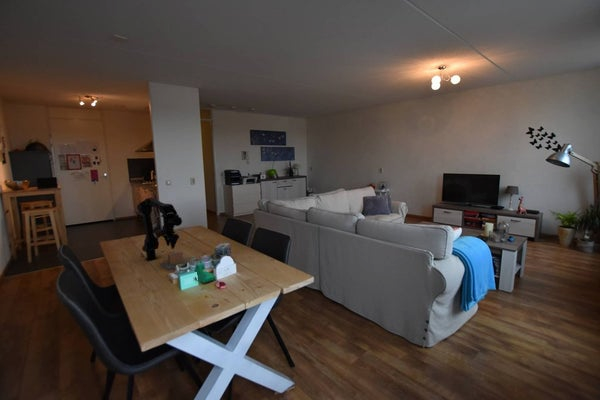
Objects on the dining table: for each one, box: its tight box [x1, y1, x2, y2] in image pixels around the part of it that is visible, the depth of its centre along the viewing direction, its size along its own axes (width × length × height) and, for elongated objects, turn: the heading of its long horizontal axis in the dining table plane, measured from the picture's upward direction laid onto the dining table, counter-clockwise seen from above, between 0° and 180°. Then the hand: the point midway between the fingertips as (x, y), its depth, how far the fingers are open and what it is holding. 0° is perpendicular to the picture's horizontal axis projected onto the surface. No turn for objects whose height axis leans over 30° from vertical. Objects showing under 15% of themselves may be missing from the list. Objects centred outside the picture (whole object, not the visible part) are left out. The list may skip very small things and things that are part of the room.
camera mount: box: [193, 262, 217, 284], centre depth 161 cm, size 12×8×10 cm, turn 48°
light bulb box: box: [214, 242, 232, 257], centre depth 190 cm, size 11×7×11 cm, turn 168°
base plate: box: [160, 257, 189, 271], centre depth 186 cm, size 14×14×4 cm
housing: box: [166, 249, 184, 265], centre depth 186 cm, size 5×8×7 cm, turn 131°
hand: (170, 247), depth 185 cm, fingers open, 9 cm apart
